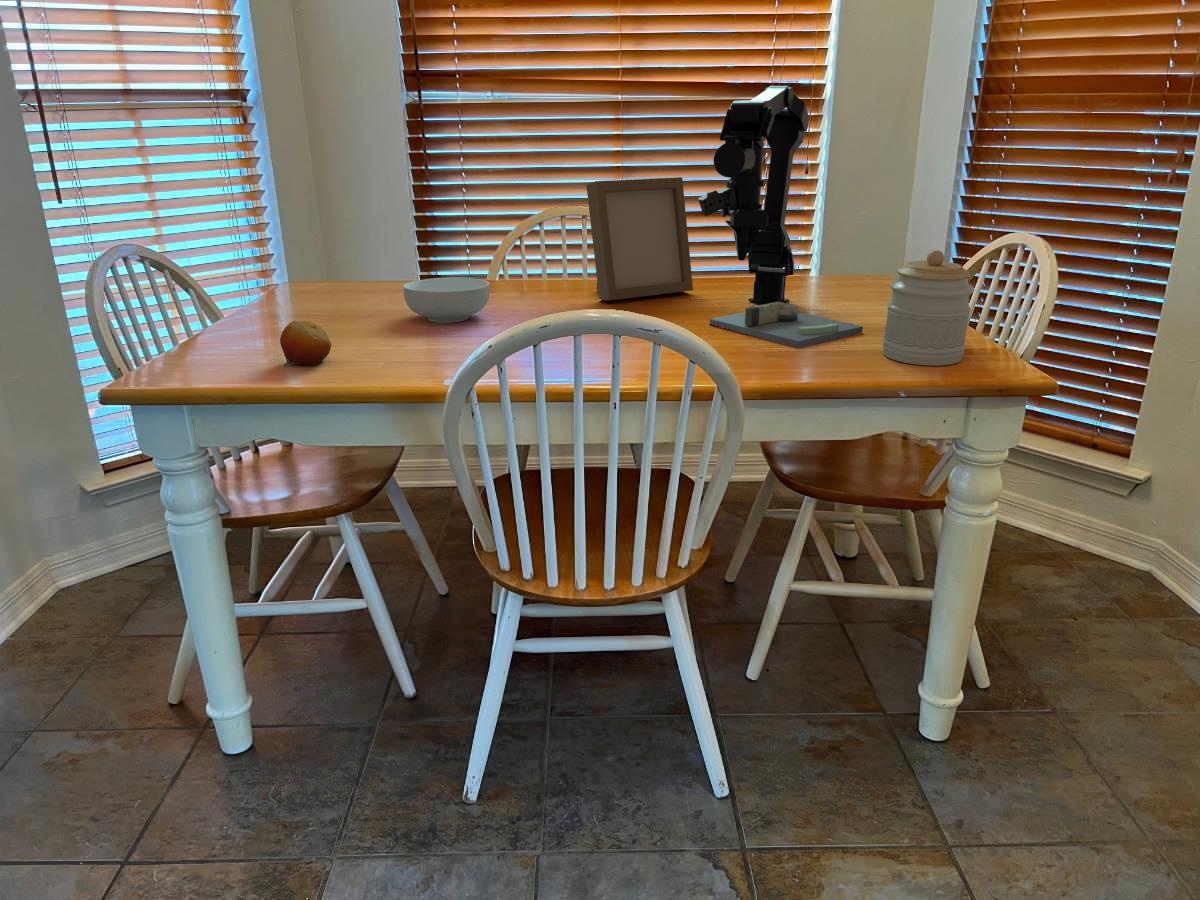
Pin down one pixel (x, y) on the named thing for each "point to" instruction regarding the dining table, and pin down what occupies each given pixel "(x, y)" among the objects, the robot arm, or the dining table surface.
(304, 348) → the fruit
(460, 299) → the cereal bowl
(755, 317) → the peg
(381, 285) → the dining table surface
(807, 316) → the board
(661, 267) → the photo frame
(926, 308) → the jar
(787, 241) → the robot arm
